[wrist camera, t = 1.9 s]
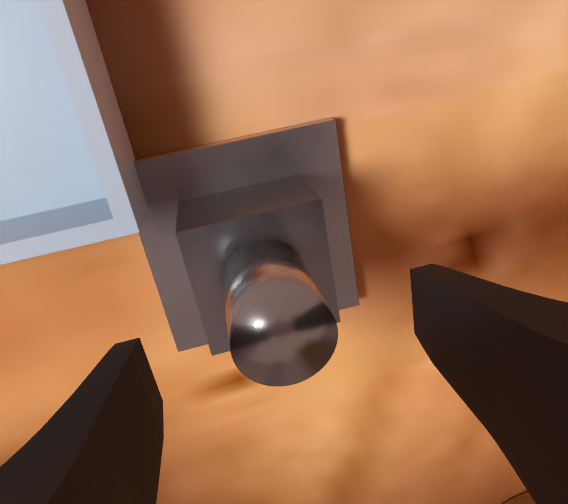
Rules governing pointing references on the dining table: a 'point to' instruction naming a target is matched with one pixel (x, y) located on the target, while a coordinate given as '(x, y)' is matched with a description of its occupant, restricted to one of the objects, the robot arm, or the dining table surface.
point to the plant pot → (521, 499)
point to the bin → (60, 135)
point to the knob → (263, 277)
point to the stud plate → (229, 175)
